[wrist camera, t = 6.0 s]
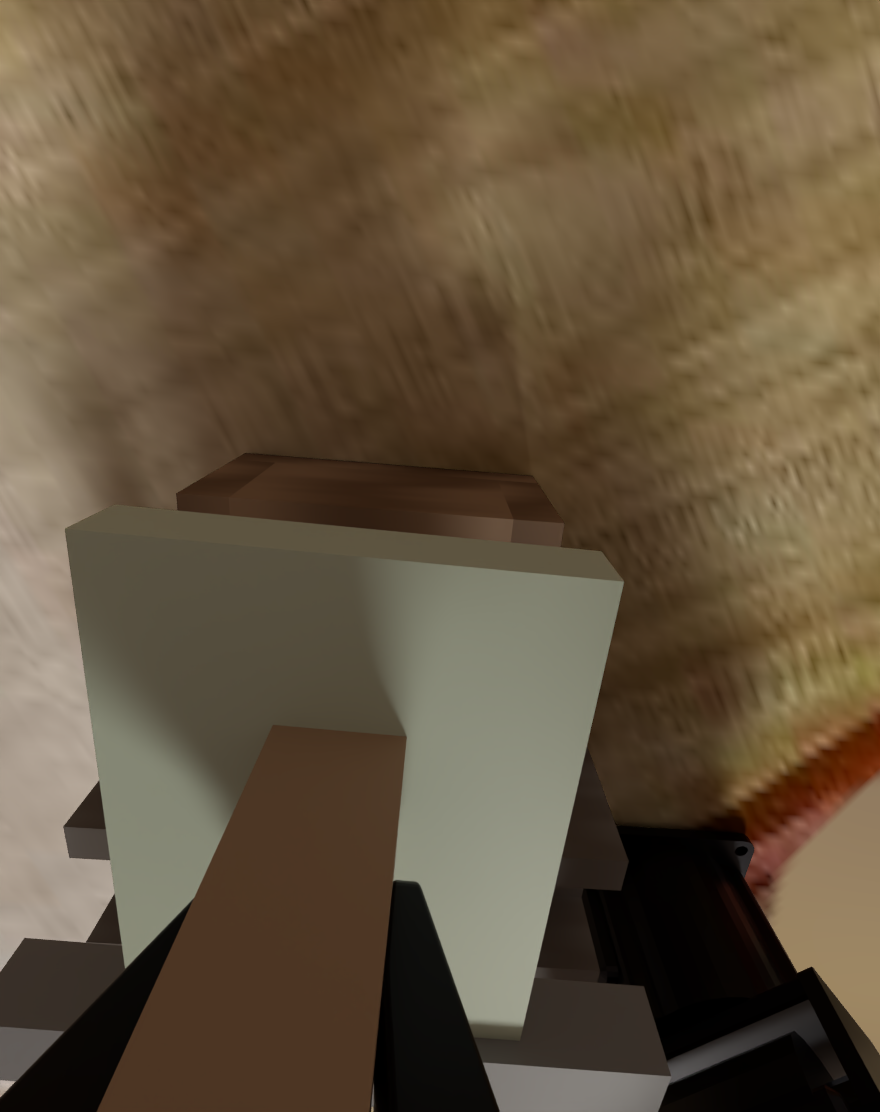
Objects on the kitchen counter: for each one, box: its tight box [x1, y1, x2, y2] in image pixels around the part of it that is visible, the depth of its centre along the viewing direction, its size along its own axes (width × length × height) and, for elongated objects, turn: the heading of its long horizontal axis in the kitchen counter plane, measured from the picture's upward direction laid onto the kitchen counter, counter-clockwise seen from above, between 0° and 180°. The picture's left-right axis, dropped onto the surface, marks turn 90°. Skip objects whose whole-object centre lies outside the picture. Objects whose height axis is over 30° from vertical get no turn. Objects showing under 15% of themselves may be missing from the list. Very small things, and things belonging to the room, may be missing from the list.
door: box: [0, 505, 671, 1112], centre depth 8 cm, size 13×11×6 cm
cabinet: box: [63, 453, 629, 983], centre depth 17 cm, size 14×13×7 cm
